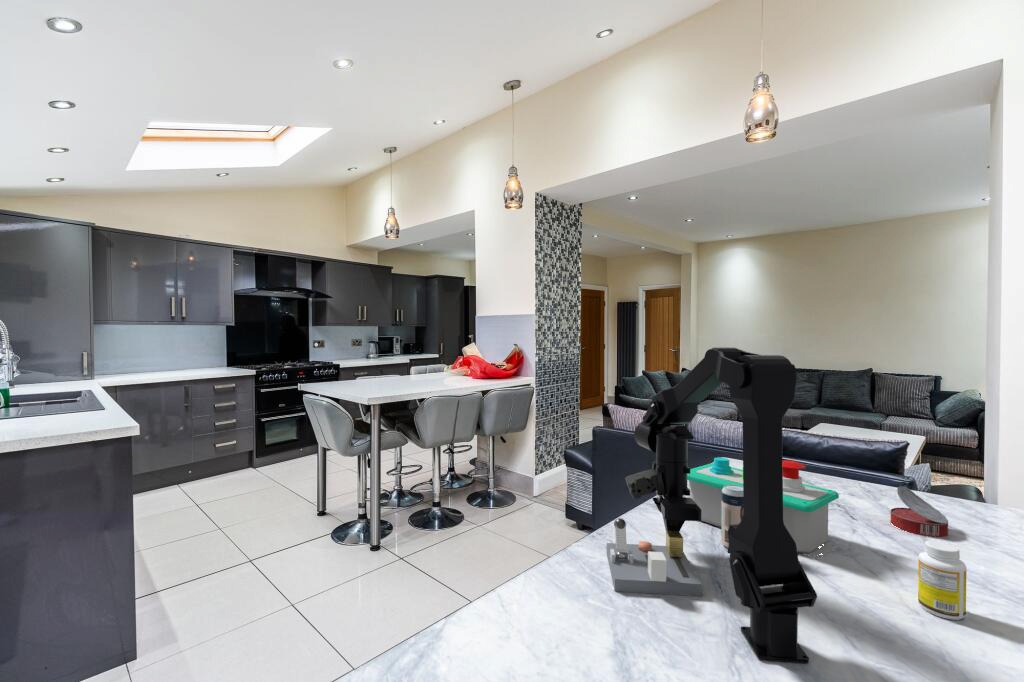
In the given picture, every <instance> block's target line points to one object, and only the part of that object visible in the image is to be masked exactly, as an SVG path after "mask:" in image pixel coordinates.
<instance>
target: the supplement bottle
mask: <svg viewBox="0 0 1024 682" xmlns="http://www.w3.org/2000/svg"><path fill="white" fill-rule="evenodd" d="M960 558H961V557H960V549H959V548H958V547H957V546H956V545H953V544H950V543H947V542H944V541H938V540H926V541H925V543H924V551H923V552H920V553H919V554H918V563H917V564H918V574H917V575H918V577H917V578H918V583H917V584H918V585H917V586H918V587H917V589H918V593H917V594H918V597H917V600H918V604H919V606H920V607H921V609H923V610H925V611H926V612H927V613H929V614H932V615H934V616H936V617H940V618H943V619H946V620H947V619H948V620H954V621H956V620H957V621H958V620H962V619H964V618H965V617H966V614H967V565H966V563H964V561H963V560H961V559H960Z"/></svg>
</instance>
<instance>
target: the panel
mask: <svg viewBox="0 0 1024 682" xmlns="http://www.w3.org/2000/svg"><path fill="white" fill-rule="evenodd" d="M648 551H650V552H663V554H664V556H665V558H666V582H662V581H651V579H650V576H649V574H648ZM616 552H627V553H628V560H624V559H616ZM606 556H607V561H608V566H609V567H608V568H609V570H610V571H609V572H610V577H611V580H612V585H613V590H614V592H623V593H624V592H625V593H639V592H641V593H643V594H657V595H658V594H659V595H675V596H688V595H694V596H693V597H703V584H702V582H701V580H700V578H699V576H698V575H697V573H696V571H695V569H694V567H693V566H692V565H691V563H690V561H689V559H688V557H687V556H686V553H685V552H684V551H683V557H670V556H669V554H668V552H667V550H666V545H657V544H652V543H651V542H649V541H645V540H643V541H639V542H638V544H637V543H636V544H634V543H627V550H616V542H606ZM695 595H696V596H695Z"/></svg>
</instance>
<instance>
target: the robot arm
mask: <svg viewBox="0 0 1024 682" xmlns="http://www.w3.org/2000/svg"><path fill="white" fill-rule="evenodd" d="M797 378H798V375H797V369H796V365H795V364H794V363H793V364H792V362H791V360H790V359H788V358H787V357H786V356H784V355H781V354H780V355H779V354H778V355H777V354H776V355H775V354H770V355H769V354H758V353H753V352H749V351H745V350H742V349H739V348H737V347H712V348H709V349H707V350H706V352H705V354H704V356H703V358H702V359H701V360H700V361H699V362H698V363H697V364H696V365H695V366H694V367H693V368H692V369H691V370H690V371H689V372H688V373H687V374H686V375H685V376H684V377H683V378H682V379H681V380H680V381H679V382H678V383H677V384H676V385H674V386H673V387H669V388H665V389H662V390H661V391H659V392H657V393H656V394H654V395H653V396H652V398H651V401H650V403H649V406H648V407H647V410H646V412H645V414H644V415H643V417H642V421H641V422H640V423H638V425H636V427H635V429H634V432H633V437H634V441H635V442H636V443H637V445H639V446H640V447H642V448H645V449H647V450H648V451H650V452H653V453H655V460H653V462H652V464H651V465H652V466H651V468H650V469H647V470H642V471H639V472H636V473H634V474H630V475H627V476H625V477H624V480H625V482H626V485H627V488H628V491H629V494H630V495H631V497H632V499H633V500H636V499H637V500H638V499H640V498H642V497H643V496H646V495H650V494H654V493H656V497H652V499H651V500H652V501H653V503H654V504H655V506H656V508H657V510H658V511H659V512H660V513H661V515H662V520H663V523H664V527H665V532H666V531H679V532H680V531H681V529H682V527H683V525H684V524H685V522H702V521H701V508H700V507H699V506H698V505H697V504H696V503H695V502H694V501H693V499H692V498H689V496H690V489H689V486H688V480H687V474H690V469H691V467H690V466H689V465H688V460H689V459H688V457H689V456H688V451H689V450H688V447H689V446H688V445H689V444H688V443H689V442H688V441H690V440H692V441H693V440H694V435H693V433H692V432H691V431H690V430H688V429H689V428H687V426H686V424H689V423H691V422H692V421H693V419H694V418H695V417H696V416H697V415H698V413H699V404H700V403H701V402H702V401H703V400H705V399H706V398H707V397H708V396H709V395H711V393H713V392H714V391H715V390H716V389H717V388H719V387H720V386H721V385H722V384H723V383H724V384H726V385H728V386H729V395H730V398H731V399H730V400H732V402H733V404H734V405H735V408H737V410H738V412H739V413H740V415H741V418H742V470H743V504H744V515H743V519H742V520H741V522H740V523H739V524H736V525H730V526H729V529H728V537H729V547H728V548H727V554H729V566H730V567H729V568H730V572H731V576H732V581H733V586H734V591H735V596H736V597H737V598H739V599H740V605H742V606H743V607H745V608H749V613H750V614H749V626H741V627H740V632H741V635H742V636H743V637H744V638H745V640H746V642H747V644H748V645H749V647H750V648H751V650H752V652H753V653H754V655H755V657H756V658H757V659H759V660H762V661H763V660H765V661H777V662H779V661H780V662H791V663H792V662H793V663H806V664H808V663H809V662H810V657H809V656H808V655H807V653H806V651H805V650H803V648H802V646H801V645H800V644H799V643H798V635H799V634H798V633H799V632H798V629H799V628H798V627H799V625H798V624H799V623H798V622H799V609H801V608H807V607H808V608H813V607H814V606H815V604H816V601H817V598H818V594H817V592H816V590H815V588H814V587H813V584H812V583H811V581H810V579H809V577H808V576H807V573H806V572H805V570H804V568H803V566H802V565H801V562H800V561H799V555H798V552H797V546H796V542H795V541H794V539H793V537H792V536H791V534H790V533H789V531H788V529H787V528H786V526H785V525H784V521H783V460H784V459H783V419H784V416H785V415H786V413H787V411H788V410H789V409H790V407H791V406H792V403H794V401H795V395H796V387H797ZM685 496H686V497H685ZM777 585H779V586H777ZM767 586H769V587H767Z"/></svg>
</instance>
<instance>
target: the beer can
mask: <svg viewBox="0 0 1024 682" xmlns="http://www.w3.org/2000/svg"><path fill="white" fill-rule="evenodd" d="M743 515H744V504H743V487H741V486H738V485H725V486H724V487H723V489H722V508H721V527H720V528H721V529H720V531H721V532H720V543H721V545H723V546H724V547H725V548H726V549H728V547H729V537H728V529H729V526H730V525H736V524H739V523H740V522H741V520H742V519H743Z"/></svg>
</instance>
